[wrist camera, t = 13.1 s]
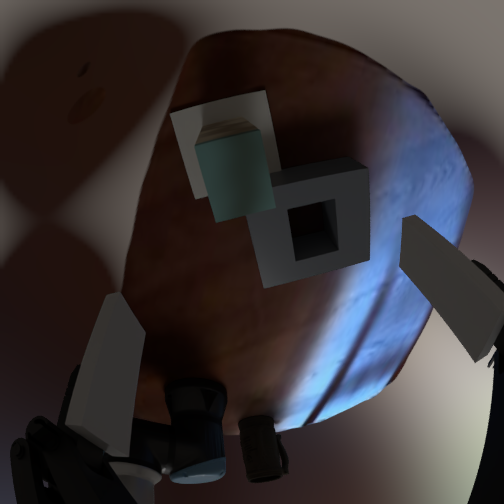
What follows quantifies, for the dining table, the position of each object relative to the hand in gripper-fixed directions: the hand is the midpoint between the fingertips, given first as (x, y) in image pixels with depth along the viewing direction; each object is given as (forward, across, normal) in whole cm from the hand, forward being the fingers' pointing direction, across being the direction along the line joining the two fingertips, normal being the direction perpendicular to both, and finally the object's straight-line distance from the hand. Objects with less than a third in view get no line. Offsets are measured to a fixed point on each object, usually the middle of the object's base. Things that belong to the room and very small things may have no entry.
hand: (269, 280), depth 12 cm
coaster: (+27, 0, +1) cm, 27 cm away
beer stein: (+28, -11, -76) cm, 81 cm away
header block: (+27, +8, -11) cm, 30 cm away
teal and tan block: (+27, 0, +1) cm, 27 cm away
